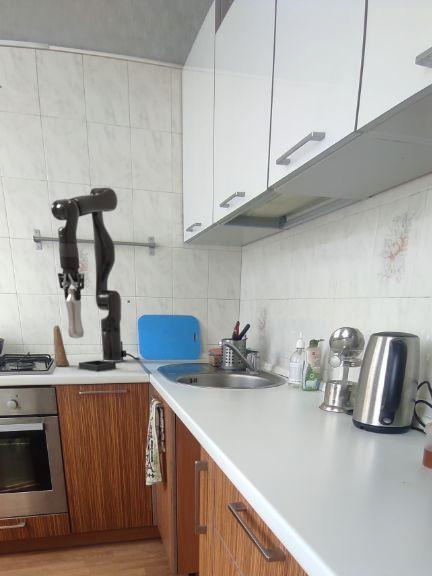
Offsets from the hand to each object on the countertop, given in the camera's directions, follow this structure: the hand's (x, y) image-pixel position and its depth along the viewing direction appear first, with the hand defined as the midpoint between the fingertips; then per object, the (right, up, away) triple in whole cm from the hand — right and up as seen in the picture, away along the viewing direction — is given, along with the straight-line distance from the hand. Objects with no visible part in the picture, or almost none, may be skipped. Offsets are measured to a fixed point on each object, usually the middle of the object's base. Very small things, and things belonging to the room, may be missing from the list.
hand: (73, 299), depth 198 cm
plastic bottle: (0, -15, +6) cm, 16 cm away
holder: (+7, -26, +15) cm, 30 cm away
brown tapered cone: (-11, -14, +16) cm, 24 cm away
